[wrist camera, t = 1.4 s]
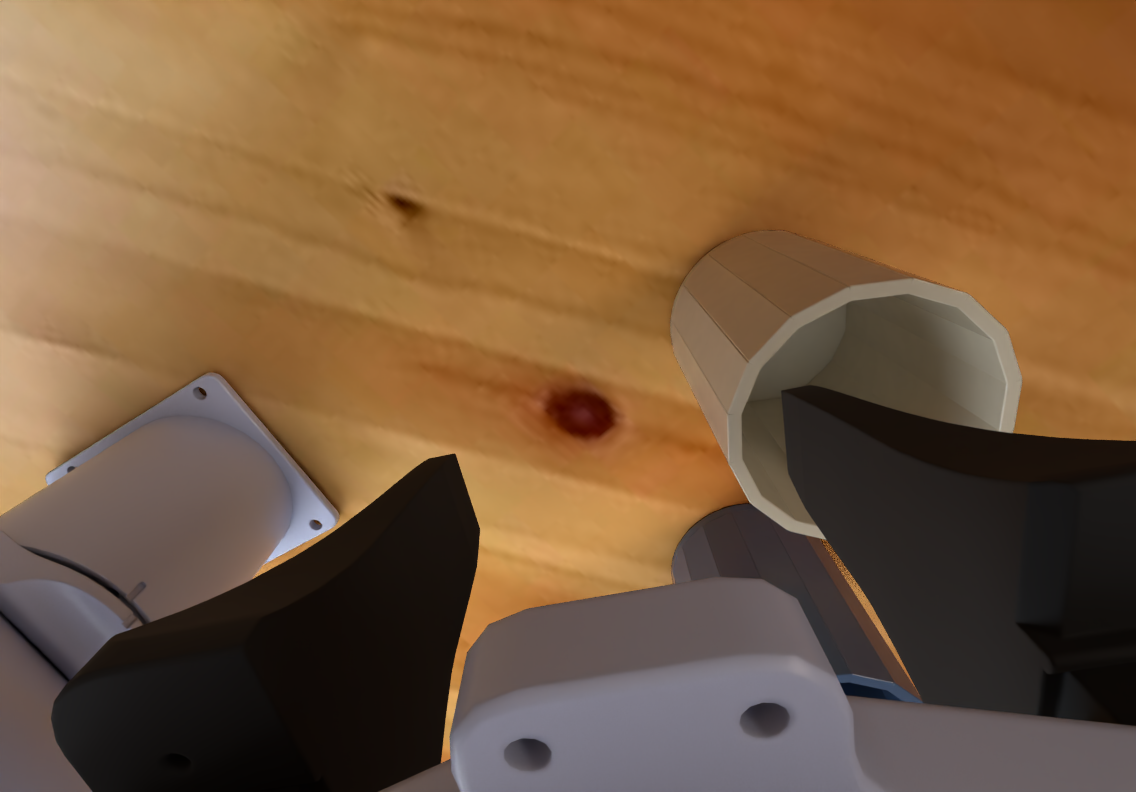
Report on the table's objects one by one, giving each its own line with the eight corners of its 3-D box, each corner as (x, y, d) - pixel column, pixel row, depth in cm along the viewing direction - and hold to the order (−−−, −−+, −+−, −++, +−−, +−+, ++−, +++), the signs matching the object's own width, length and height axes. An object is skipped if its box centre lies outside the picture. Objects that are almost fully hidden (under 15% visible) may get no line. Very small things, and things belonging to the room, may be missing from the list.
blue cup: (709, 643, 28) (765, 848, 20) (645, 543, 26) (679, 726, 18) (842, 588, 27) (963, 783, 19) (787, 477, 25) (895, 642, 16)
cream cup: (714, 430, 24) (791, 579, 16) (639, 289, 22) (679, 374, 13) (874, 352, 22) (1051, 469, 14) (810, 193, 20) (974, 220, 12)
